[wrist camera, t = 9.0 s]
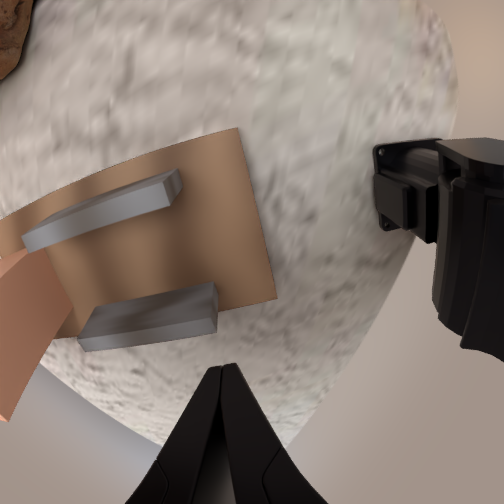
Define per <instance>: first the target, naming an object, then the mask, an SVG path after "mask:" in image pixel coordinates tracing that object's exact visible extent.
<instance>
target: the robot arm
mask: <svg viewBox="0 0 504 504" xmlns="http://www.w3.org/2000/svg"><path fill="white" fill-rule="evenodd" d="M380 149H382V154H379V150H380ZM373 155H374V163H375V172H376V174H375V175H374V185H375V196H376V208H377V210H378V211H379V223H380V227H381V229H383V230H384V231H390V230H394V229H398V228H403V229H404V230H406V231H407V230H410V231H411V232H412V233H414V234H415V235H416V236H418V237H419V238H420V239H422V240H423V241H424V242H426V243H427V244H430V243H433V242H435V243H436V244H437V249H436V260H435V270H434V277H433V286H432V301H433V303H434V305H435V308H436V310H437V312H438V313H439V314H438V319H439V320H440V321H441V322H442V323H443V324H444V325H445V326H446V327H447V328H448V329H450V330H451V331H453V332H454V333H456V334H458V335H460V336H462V340H461V343H460V347H461V348H463V349H471V350H479V351H482V352H484V353H488V354H490V355H493V356H494V357H496V358H498V359H500V360H501V361H503V362H504V141H503V140H497V139H492V138H466V139H452V140H442V139H440V138H430V139H419V140H410V141H401V142H392V143H384V144H378V145H376V146H375V147H374V149H373ZM386 222H388V225H387V226H385V223H386ZM156 459H157V460H155V461H154V463H153V464H152V466H151V468H150V469H149V471H148V472H147V474H146V475H145V477H144V479H143V480H142V482H141V483H140V484H139V486H138V487H137V489H136V490H135V491H134V493H133V494H132V495H131V497H130V498H129V499H128V500H127V501H126V503H125V504H328V503H327V502H326V501H325V500H324V499H323V497H322V496H321V495H320V494H318V492H317V491H316V490H315V489H314V488H313V487H312V486H311V485H310V483H309V482H308V481H307V480H306V479H305V478H304V476H303V475H302V474H301V473H300V471H299V470H298V469H297V467H296V466H295V464H294V463H293V461H292V460H291V458H290V457H289V455H288V453H287V452H286V450H285V448H283V445H282V444H281V442H280V440H279V438H278V437H277V435H276V433H275V432H274V430H273V428H272V427H271V425H270V423H269V421H268V420H267V418H266V416H265V414H264V413H263V411H262V409H261V407H260V405H259V404H258V402H257V400H256V398H255V396H254V395H253V393H252V391H251V389H250V387H249V385H248V384H247V382H246V380H245V378H244V376H243V374H242V372H241V370H240V368H239V367H238V365H237V363H231V364H225V365H223V366H215V367H210V368H208V370H207V371H206V373H205V375H204V377H203V378H202V380H201V382H200V384H199V385H198V387H197V389H196V391H195V392H194V394H193V396H192V398H191V399H190V401H189V403H188V405H187V406H186V408H185V410H184V412H183V413H182V415H181V417H180V418H179V420H178V422H177V424H176V425H175V427H174V429H173V430H172V432H171V434H170V436H169V437H168V439H167V441H166V442H165V444H164V446H163V448H162V449H161V451H160V453H159V454H158V456H157V458H156Z"/></svg>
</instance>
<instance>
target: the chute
mask: <svg viewBox="0 0 504 504" xmlns="http://www.w3.org/2000/svg"><path fill="white" fill-rule="evenodd" d="M25 248H26V249H27V251H28V253H32V252H34V251H37V250H39V249H42V248H44V250H45V252H46V254H47V256H48V259H49V261H50V263H51V265H52V267H53V269H54V271H55V273H56V275H57V277H58V279H59V281H60V283H61V285H62V287H63V288H64V290H65V292H66V294H67V296H68V298H69V299H70V301H71V303H72V305H73V308H72V310H71V311H70V313H69V314H68V316H67V317H66V319H65V321H64V322H63V324H62V325H61V327H60V328H59V330H58V331H57V333H56V335H55V336H54V338H53V339H60V338H68V337H75V336H78V338H77V341H78V342H79V344H80V345H81V347H82V348H83V350H84V351H85V352H90V351H99V350H108V349H116V348H124V347H132V346H139V345H146V344H153V343H159V342H166V341H172V340H178V339H184V338H190V337H195V336H201V335H206V334H212V333H217V317H218V312H220V311H225V310H229V309H234V308H239V307H243V306H248V305H252V304H257V303H261V302H265V301H270V300H274V299H278V298H277V293H276V289H275V285H274V280H273V276H272V271H271V267H270V263H269V258H268V254H267V250H266V245H265V241H264V237H263V232H262V228H261V224H260V220H259V215H258V211H257V207H256V203H255V198H254V194H253V190H252V186H251V182H250V178H249V173H248V169H247V165H246V161H245V157H244V153H243V149H242V145H241V141H240V137H239V132H238V128H233V129H229V130H225V131H221V132H217V133H213V134H210V135H206V136H202V137H199V138H195V139H192V140H188V141H185V142H181V143H178V144H175V145H172V146H169V147H165V148H162V149H159V150H156V151H153V152H150V153H147V154H144V155H142V156H139V157H136V158H133V159H130V160H128V161H125V162H122V163H120V164H117V165H115V166H112V167H109V168H107V169H104V170H102V171H99V172H97V173H95V174H92V175H90V176H88V177H85V178H83V179H81V180H78V181H76V182H74V183H72V184H69V185H67V186H65V187H63V188H61V189H59V190H56V191H54V192H52V193H50V194H48V195H46V196H44V197H42V198H40V199H38V200H36V201H34V202H32V203H30V204H29V205H27V206H25V207H23V208H21V209H19V210H17V211H16V212H14V213H12V214H10V215H8V216H7V217H5V218H3V219H1V220H0V256H1V258H4V257H6V256H9V255H11V254H13V253H15V252H18V251H20V250H22V249H25Z"/></svg>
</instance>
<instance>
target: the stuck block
mask: <svg viewBox="0 0 504 504" xmlns="http://www.w3.org/2000/svg"><path fill="white" fill-rule="evenodd" d="M72 308H73V305H72V303H71V301H70V299H69V298H68V296H67V294H66V292H65V290H64V288H63V287H62V285H61V283H60V281H59V279H58V277H57V275H56V273H55V271H54V269H53V267H52V265H51V263H50V261H49V259H48V256H47V254H46V252H45V250H44V248H42V249H39V250H37V251H34V252H32V253H28V251H27V249H26V248H25V249H22V250H20V251H18V252H15V253H13V254H11V255H9V256H6V257H4V258H2V259H0V420H2V421H5V422H9V420H10V418H11V416H12V414H13V411H14V409H15V407H16V405H17V403H18V401H19V399H20V397H21V395H22V393H23V391H24V389H25V387H26V385H27V383H28V381H29V379H30V377H31V376H32V374H33V372H34V370H35V369H36V367H37V365H38V363H39V362H40V360H41V358H42V356H43V355H44V353H45V351H46V350H47V348H48V346H49V345H50V343H51V341H52V340H53V338H54V336H55V335H56V333H57V331H58V330H59V328H60V327H61V325H62V324H63V322H64V321H65V319H66V317H67V316H68V314H69V313H70V311H71V310H72Z"/></svg>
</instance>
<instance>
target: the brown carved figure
mask: <svg viewBox="0 0 504 504" xmlns="http://www.w3.org/2000/svg"><path fill="white" fill-rule="evenodd" d="M32 4H33V0H0V80H1V79H3V78H4V77H5V76H6V75H7V74H8V73H9V72H10V71H11V70H13V69H14V68H15V66H16V65H17V63H18V61H19V58H20V55H21V51H22V45H23V43H24V39H25V36H26V33H27V31H28V27H29V23H30V15H31V9H32Z"/></svg>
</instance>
